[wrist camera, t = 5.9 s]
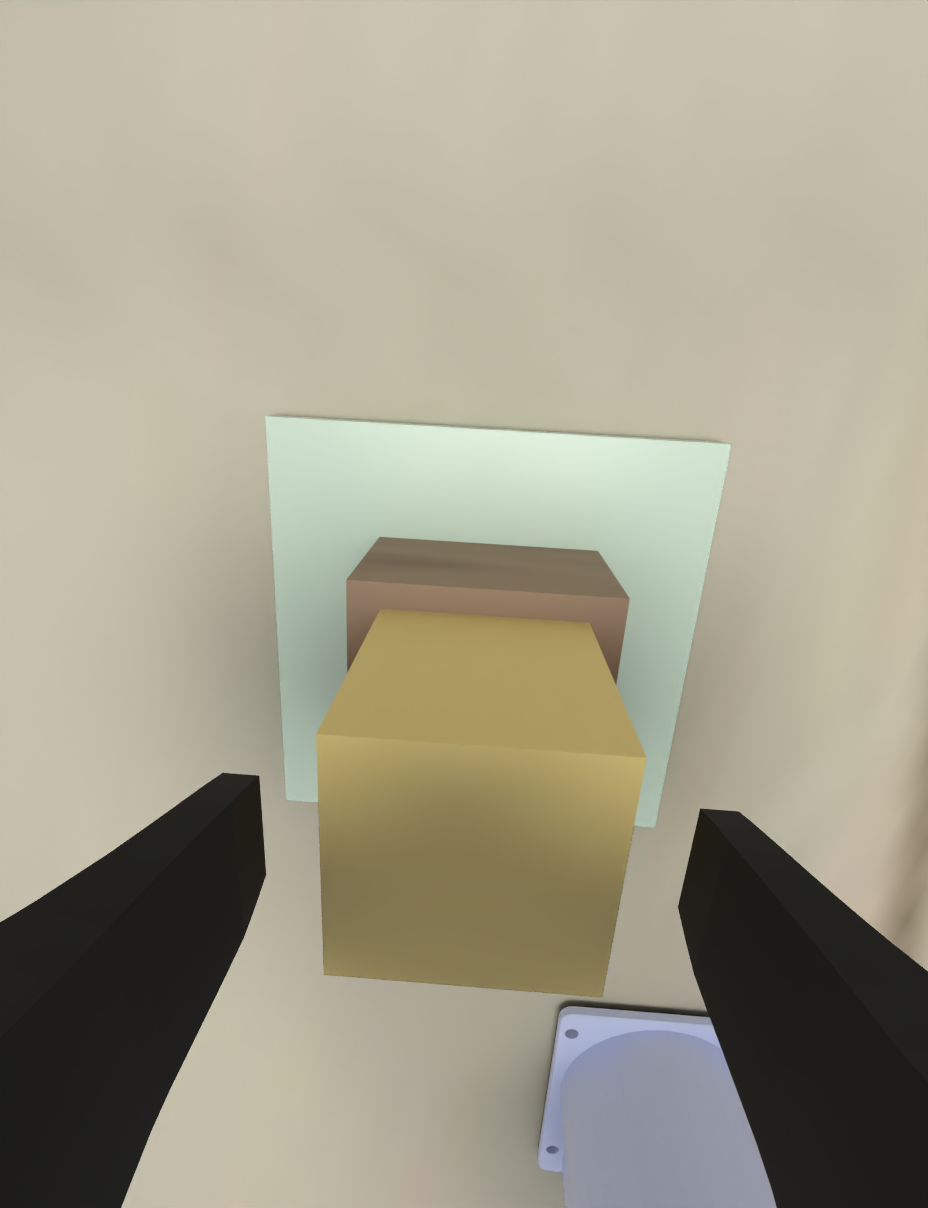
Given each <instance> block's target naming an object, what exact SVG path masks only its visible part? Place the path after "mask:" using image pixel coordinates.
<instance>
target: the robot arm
mask: <svg viewBox="0 0 928 1208" xmlns="http://www.w3.org/2000/svg"><path fill="white" fill-rule="evenodd" d="M265 876H266V867H265V853H264V838H263V824H262V810H261V795H260V781H259V776H256V775H242V774H229V773H222V774H221V775H219V776H217V777H216V778H214V779H213V780H211V781H210V782H209V783H207V784H206V785H204V786H203V787H201V788H200V789H199V790H197V791H196V792H194V793H193V794H192V795H190V796H189V797H188V798H186V799H185V800H183V801H182V802H181V803H179V804H178V805H176V806H175V807H174V808H172V809H171V810H170V811H168V812H167V813H165V814H164V815H163V816H161V817H160V818H159V819H157V820H156V821H154V822H153V823H151V824H150V825H149V826H147V827H146V828H144V829H143V830H141V831H140V832H139V833H137V834H136V835H134V836H133V837H132V838H130V839H129V840H127V841H126V842H124V843H123V844H122V845H120V846H119V847H117V848H116V849H115V850H113V851H112V852H110V853H109V854H107V855H106V856H104V857H103V858H101V859H100V860H98V861H97V862H95V863H93V864H92V865H90V866H89V867H87V868H86V869H84V870H83V871H81V872H80V873H78V874H77V875H75V876H74V877H72V878H70V879H69V880H67V881H66V882H64V883H63V884H61V885H60V886H58V887H57V888H55V889H54V890H52V891H50V892H49V893H47V894H46V895H44V896H43V897H41V898H40V899H38V900H37V901H35V902H33V903H32V904H30V905H28V906H27V907H25V908H24V909H22V910H20V911H19V912H17V913H15V914H14V915H12V916H10V917H9V918H7V919H5V920H3V921H2V922H0V1208H121V1206H122V1204H123V1201H124V1199H125V1196H126V1194H127V1191H128V1188H129V1186H130V1183H131V1181H132V1178H133V1176H134V1173H135V1171H136V1168H137V1166H138V1163H139V1161H140V1158H141V1156H142V1153H143V1150H144V1148H145V1145H146V1143H147V1140H148V1138H149V1135H150V1133H151V1130H152V1128H153V1126H154V1124H155V1121H156V1119H157V1117H158V1115H159V1113H160V1110H161V1108H162V1106H163V1104H164V1101H165V1099H166V1097H167V1095H168V1093H169V1090H170V1088H171V1086H172V1084H173V1082H174V1080H175V1078H176V1076H177V1074H178V1072H179V1070H180V1068H181V1066H182V1064H183V1062H184V1060H185V1058H186V1056H187V1054H188V1052H189V1050H190V1048H191V1046H192V1043H193V1041H194V1039H195V1037H196V1035H197V1033H198V1031H199V1029H200V1027H201V1025H202V1023H203V1021H204V1019H205V1017H206V1015H207V1013H208V1011H209V1009H210V1007H211V1005H212V1003H213V1001H214V999H215V997H216V995H217V992H218V990H219V988H220V986H221V984H222V982H223V980H224V978H225V976H226V974H227V972H228V970H229V968H230V966H231V963H232V961H233V959H234V957H235V955H236V953H237V951H238V949H239V947H240V945H241V942H242V940H243V938H244V936H245V933H246V930H247V928H248V925H249V922H250V920H251V917H252V914H253V911H254V909H255V906H256V903H257V900H258V897H259V894H260V891H261V888H262V885H263V882H264V879H265ZM678 909H679V913H680V918H681V922H682V926H683V931H684V935H685V940H686V944H687V948H688V952H689V956H690V960H691V963H692V967H693V971H694V975H695V978H696V980H697V983H698V986H699V989H700V992H701V995H702V997H703V1000H704V1003H705V1006H706V1008H707V1011H708V1014H709V1017H700V1016H688V1015H676V1014H663V1013H651V1012H639V1011H627V1010H614V1009H602V1008H590V1007H578V1006H568V1007H566V1008H564V1009H563V1010H561V1011H560V1014H559V1018H558V1024H557V1031H556V1037H555V1044H554V1050H553V1057H552V1064H551V1070H550V1077H549V1083H548V1090H547V1096H546V1103H545V1109H544V1116H543V1122H542V1129H541V1135H540V1142H539V1148H538V1164H539V1166H540V1167H541V1168H542V1169H543V1170H546V1171H553V1172H562V1177H563V1188H564V1199H565V1208H928V971H927V970H925V969H924V968H923V967H921V966H920V965H919V964H918V963H916V962H915V961H914V960H913V959H911V958H910V957H909V956H908V955H906V954H905V953H904V952H903V951H901V950H900V949H899V948H897V947H896V946H895V945H894V944H892V943H891V942H890V941H889V940H888V939H886V938H885V937H884V936H883V935H881V934H880V933H879V932H878V931H877V930H875V929H874V928H873V927H872V926H871V925H869V924H868V923H867V922H866V921H865V920H863V919H862V918H861V917H860V916H859V915H857V914H856V913H855V912H854V911H853V910H852V909H850V908H849V907H848V906H847V905H846V904H845V903H843V902H842V901H841V900H840V899H839V898H838V897H836V896H835V895H834V894H833V893H832V892H831V891H829V890H828V889H827V888H826V887H825V886H824V885H823V884H821V883H820V882H819V881H818V880H817V879H816V878H815V877H813V876H812V875H811V874H810V873H809V872H808V871H807V870H806V869H804V868H803V867H802V866H801V865H800V864H799V863H798V862H797V861H795V860H794V859H793V858H792V857H791V856H790V855H789V854H787V853H786V852H785V851H784V850H783V849H782V848H781V847H780V846H778V845H777V844H776V843H775V842H774V841H773V840H772V839H770V838H769V837H768V836H767V835H766V834H765V833H764V832H763V831H761V830H760V829H759V828H758V827H757V826H756V825H754V824H753V823H752V822H751V821H750V820H748V819H747V818H746V817H745V816H743V815H742V814H741V813H740V812H737V811H724V810H711V809H700V812H699V817H698V821H697V826H696V830H695V835H694V839H693V843H692V848H691V852H690V857H689V861H688V865H687V870H686V874H685V879H684V883H683V888H682V892H681V896H680V901H679V905H678Z"/></svg>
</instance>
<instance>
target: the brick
mask: <svg viewBox="0 0 928 1208" xmlns="http://www.w3.org/2000/svg"><path fill="white" fill-rule="evenodd" d="M316 748H317V778H318V809H319V840H320V871H321V902H322V933H323V964H324V975H333V976H345V977H357V978H370V979H382V980H394V981H406V982H419V983H431V984H443V985H456V986H468V987H480V988H492V989H505V990H517V991H529V992H542V993H554V994H566V995H579V996H591V997H603V991H604V986H605V980H606V975H607V970H608V964H609V959H610V953H611V948H612V943H613V937H614V932H615V926H616V921H617V916H618V910H619V905H620V899H621V894H622V889H623V883H624V878H625V872H626V867H627V862H628V856H629V851H630V845H631V840H632V835H633V829H634V824H635V818H636V813H637V808H638V802H639V797H640V791H641V786H642V781H643V775H644V770H645V764H646V759H647V757H646V755H645V753H644V750H643V748H642V746H641V743H640V741H639V738H638V736H637V734H636V731H635V729H634V727H633V724H632V722H631V720H630V717H629V715H628V712H627V710H626V708H625V705H624V703H623V701H622V698H621V696H620V694H619V691H618V689H617V686H616V684H615V682H614V679H613V677H612V675H611V672H610V670H609V668H608V665H607V663H606V660H605V658H604V656H603V653H602V651H601V649H600V646H599V644H598V641H597V639H596V637H595V634H594V632H593V630H592V627H591V625H590V623H583V622H568V621H553V620H538V619H523V618H509V617H494V616H479V615H464V614H449V613H434V612H419V611H404V610H390V609H380V610H379V612H378V614H377V616H376V618H375V620H374V622H373V624H372V626H371V628H370V630H369V632H368V634H367V636H366V638H365V640H364V642H363V643H362V645H361V647H360V649H359V651H358V653H357V655H356V657H355V659H354V661H353V663H352V665H351V667H350V669H349V671H348V673H347V675H346V677H345V679H344V681H343V682H342V684H341V686H340V688H339V690H338V692H337V694H336V696H335V698H334V700H333V702H332V704H331V706H330V708H329V710H328V712H327V714H326V716H325V718H324V720H323V721H322V723H321V725H320V727H319V729H318V731H317V733H316Z"/></svg>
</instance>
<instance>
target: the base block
mask: <svg viewBox="0 0 928 1208" xmlns="http://www.w3.org/2000/svg"><path fill="white" fill-rule="evenodd" d="M629 601H630V598H629V597H628V595H627V594H626V592H625V591H624V589H623V588H622V586H621V585H620V583H619V582H618V580H617V579H616V577H615V576H614V574H613V573H612V571H611V570H610V568H609V567H608V565H607V564H606V562H605V561H604V559H603V558H602V556H601V555H600V553H599V552H598V551H592V550H577V549H561V548H546V547H530V546H515V545H499V544H484V543H468V542H453V541H437V540H421V539H406V538H390V537H379V538H378V539H377V541H376V542H375V543H374V544H373V546H372V547H371V548H370V550H369V551H368V552H367V554H366V555H365V556H364V557H363V559H362V560H361V561H360V563H359V564H358V565H357V566H356V568H355V569H354V570H353V572H352V573H351V574H350V576H349V577H348V578H347V579H346V612H347V673H348V671H349V669H350V667H351V665H352V663H353V661H354V659H355V657H356V655H357V653H358V651H359V649H360V647H361V645H362V643H363V642H364V640H365V638H366V636H367V634H368V632H369V630H370V628H371V626H372V624H373V622H374V620H375V618H376V616H377V614H378V612H379V610H380V609H390V610H404V611H419V612H434V613H449V614H464V615H479V616H494V617H509V618H523V619H538V620H553V621H568V622H583V623H590V625H591V627H592V630H593V632H594V634H595V637H596V639H597V641H598V644H599V646H600V649H601V651H602V653H603V656H604V658H605V660H606V663H607V665H608V668H609V670H610V672H611V675H612V677H613V679H614V682H615V684H617V677H618V671H619V665H620V658H621V652H622V645H623V639H624V633H625V626H626V620H627V614H628V607H629Z"/></svg>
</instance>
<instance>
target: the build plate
mask: <svg viewBox="0 0 928 1208" xmlns="http://www.w3.org/2000/svg"><path fill="white" fill-rule="evenodd" d="M265 419H266V438H267V456H268V475H269V493H270V511H271V530H272V548H273V567H274V585H275V604H276V622H277V641H278V659H279V677H280V696H281V714H282V733H283V751H284V770H285V788H286V800H292V801H305V802H318V778H317V748H316V733H317V731H318V729H319V727H320V725H321V723H322V721H323V720H324V718H325V716H326V714H327V712H328V710H329V708H330V706H331V704H332V702H333V700H334V698H335V696H336V694H337V692H338V690H339V688H340V686H341V684H342V682H343V681H344V679H345V677H346V675H347V612H346V579H347V578H348V577H349V576H350V574H351V573H352V572H353V570H354V569H355V568H356V566H357V565H358V564H359V563H360V561H361V560H362V559H363V557H364V556H365V555H366V554H367V552H368V551H369V550H370V548H371V547H372V546H373V544H374V543H375V542H376V541H377V539H378V538H379V537H390V538H406V539H421V540H437V541H453V542H468V543H484V544H499V545H515V546H530V547H546V548H561V549H577V550H592V551H598V552H599V553H600V555H601V556H602V558H603V559H604V561H605V562H606V564H607V565H608V567H609V568H610V570H611V571H612V573H613V574H614V576H615V577H616V579H617V580H618V582H619V583H620V585H621V586H622V588H623V589H624V591H625V592H626V594H627V595H628V597H629V598H630V601H629V607H628V614H627V620H626V626H625V633H624V639H623V645H622V652H621V658H620V665H619V671H618V677H617V684H616V686H617V689H618V691H619V694H620V696H621V698H622V701H623V703H624V705H625V708H626V710H627V712H628V715H629V717H630V720H631V722H632V724H633V727H634V729H635V731H636V734H637V736H638V738H639V741H640V743H641V746H642V748H643V750H644V753H645V755H646V757H647V759H646V764H645V770H644V775H643V781H642V786H641V791H640V797H639V802H638V808H637V813H636V818H635V824H634V826H640V827H653V828H655V824H656V819H657V814H658V809H659V804H660V799H661V794H662V789H663V784H664V779H665V774H666V769H667V764H668V759H669V754H670V749H671V744H672V739H673V734H674V729H675V724H676V719H677V714H678V709H679V704H680V699H681V694H682V689H683V684H684V679H685V674H686V669H687V664H688V659H689V654H690V649H691V644H692V639H693V634H694V629H695V624H696V619H697V614H698V609H699V604H700V599H701V594H702V589H703V584H704V579H705V574H706V569H707V564H708V559H709V554H710V549H711V544H712V539H713V534H714V529H715V524H716V519H717V514H718V509H719V504H720V499H721V494H722V489H723V484H724V479H725V474H726V469H727V464H728V459H729V454H730V449H731V444H728V443H723V442H714V441H698V440H681V439H664V438H648V437H631V436H615V435H598V434H581V433H565V432H548V431H531V430H515V429H498V428H481V427H465V426H448V425H431V424H415V423H398V422H381V421H365V420H348V419H331V418H315V417H298V416H281V415H273V416H265Z"/></svg>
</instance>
